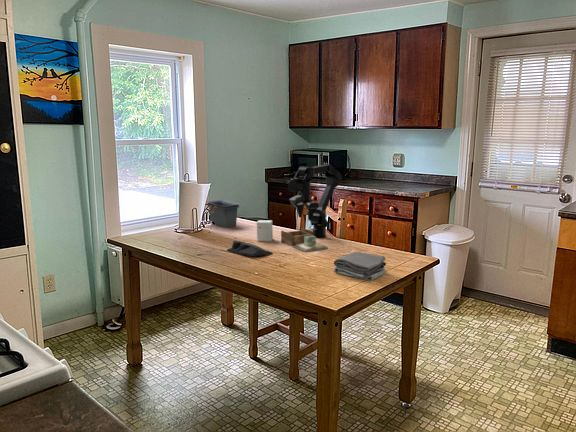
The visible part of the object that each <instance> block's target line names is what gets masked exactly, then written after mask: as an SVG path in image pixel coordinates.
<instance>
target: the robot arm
mask: <svg viewBox="0 0 576 432" xmlns="http://www.w3.org/2000/svg"><path fill="white" fill-rule="evenodd" d="M317 174H324V177H325V184H326V185H325V187H324V190H323V193H322V195H321V198H320V200H319V202H317V201H313V200H312V199H311V195H313V193H312V191H311V182H314V180H313V179H312V177H314V176H315V175H317ZM342 179H343V176H342V173H341V172H340V171H339V170H338V169H336V168H335V167H334V165H332V164H328V163H327V164H326V163H324V164H321V165H315V166H299V167H298V169H297V171H296V173H295V175H294V177H293V178H290V181H289V182H288V184H287V189H288V191H289V192H290V193H295V192H297V193H296V194H297V195H293V197H291V198H289V201H290V205H291V206H294V207H295V209H296V212H297V215H298V218H302V216H303V211H304V207H305V210H306V211H307V220H308V221H310V225H311V226H313V228H312V232H313V236H316V239H322V238H328V236H327V235H326V233H327V231H326V230H327V227H328V226H329V224H330V223H329V221H328V220H327V213H326V210H327V208H328V205H329V203H330V201H331V198H332V195H333V193H334V191H335V188H338V186H339V185H340V184H341V181H342Z"/></svg>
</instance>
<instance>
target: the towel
mask: <svg viewBox="0 0 576 432" xmlns="http://www.w3.org/2000/svg"><path fill="white" fill-rule="evenodd" d="M385 261H386V257H385V256H384V255H378V254H377V255H376V254H372V253H366V252H361V251H354V252H350V253H348V254H345V255H343V256H341V257H339V258H336V259H335V260H334V261H333V265H334V269H333V270H334V271H333V272H334V273H336V274H338V275H342V276H346V277H350V278H355V279H360V280H365V281H368V282H372V281H374V280H375V279H377V278H379V277H381V276H383V275H385V274H387V272H388V271H387V269H385V266H386V265H387V263H386V262H385Z"/></svg>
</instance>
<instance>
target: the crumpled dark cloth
mask: <svg viewBox="0 0 576 432" xmlns="http://www.w3.org/2000/svg"><path fill="white" fill-rule="evenodd" d="M226 251H227V252H231V253H234V254H237V255H239V254H240V255H242V256H247V257H250V258H255V257H261V256H270V255H273V252H272V251H270V250H266V249H264V248H262V247H260V246H258V245H255V244H253V243H248V242H244V241H239V240H233V241H232V246H231V247H230V248H228V249H226Z"/></svg>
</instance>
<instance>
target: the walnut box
mask: <svg viewBox="0 0 576 432" xmlns="http://www.w3.org/2000/svg"><path fill="white" fill-rule="evenodd" d="M280 232H281V233H280V235H281V236H280V238H281V239H280V243H283V244H285V245H288V246H289V247H292V246H294V245H295V244H301V243H304V236H311V235H313V230H312V231H311V230H309V229H306V228H304V227H301V228H300V230H293V231H284V230H281V231H280Z"/></svg>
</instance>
